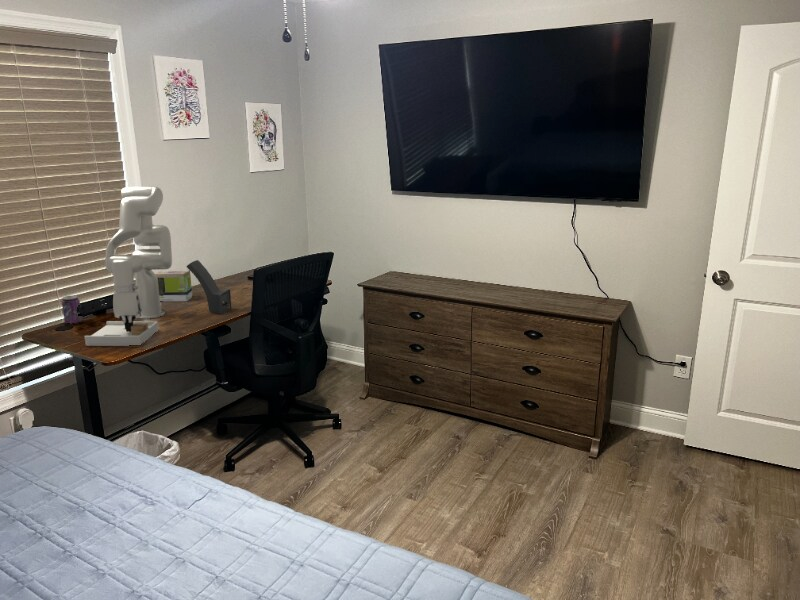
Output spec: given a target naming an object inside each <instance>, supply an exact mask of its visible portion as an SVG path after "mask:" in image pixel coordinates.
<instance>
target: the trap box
mask: <svg viewBox="0 0 800 600" xmlns="http://www.w3.org/2000/svg"><path fill="white" fill-rule="evenodd" d="M135 323H148V329H146V330H145V331H144V332H143V333H141V334H140V335H132V333H131V332H129V331H128V332H126V329H125V324H124V322H123V321H122V320H121V321H117V320H115V321H113V320H112V321H111V320H107V321H106V324H105V326H103V327H102V328H101V329H98V330H97V331H96V332H94V333H93V334H91V335H84V343H85V346H87V347H102V346H103V347H112V346H113V347H130V346H129V345H141V344H142V343H143V342H144V343H145V341H146V340H147V339H148V338H149V337H150V336H151V337H153V336H154V335H155V334H156V333H157V332H158V331H159V329H160V328H159V321H137V320H136V321H135V320H134V321H133V325H134V324H135ZM155 332H156V333H155ZM154 333H155V334H154ZM153 334H154V335H153ZM152 335H153V336H152ZM151 337H150V338H151ZM150 338H149V339H150ZM149 339H148V340H149ZM148 340H147V341H148ZM144 343H143V344H144ZM143 344H142V345H143ZM142 345H141V346H142Z"/></svg>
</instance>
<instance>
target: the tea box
mask: <svg viewBox="0 0 800 600" xmlns="http://www.w3.org/2000/svg"><path fill="white" fill-rule="evenodd" d="M155 275H156V276H157V278H158V287H159V297H160V301H163V302H188V301H190V299H191V298H192V297H193V287H192V278H191V271H190V270H189V269H160V271H158V272H156V273H155Z"/></svg>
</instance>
